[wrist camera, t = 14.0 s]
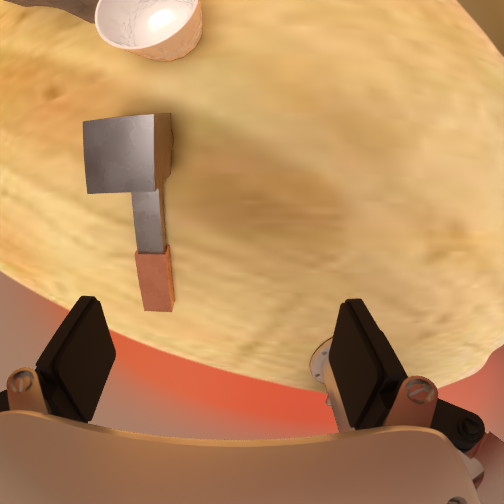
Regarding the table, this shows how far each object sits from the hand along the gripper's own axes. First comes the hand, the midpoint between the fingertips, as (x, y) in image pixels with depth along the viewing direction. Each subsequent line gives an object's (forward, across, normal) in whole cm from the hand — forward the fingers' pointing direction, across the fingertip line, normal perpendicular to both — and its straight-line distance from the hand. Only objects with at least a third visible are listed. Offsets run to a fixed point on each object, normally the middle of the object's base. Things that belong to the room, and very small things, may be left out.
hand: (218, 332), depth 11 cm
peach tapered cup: (+22, +7, -18) cm, 29 cm away
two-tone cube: (+20, +9, -6) cm, 22 cm away
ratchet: (+22, +9, +2) cm, 24 cm away
